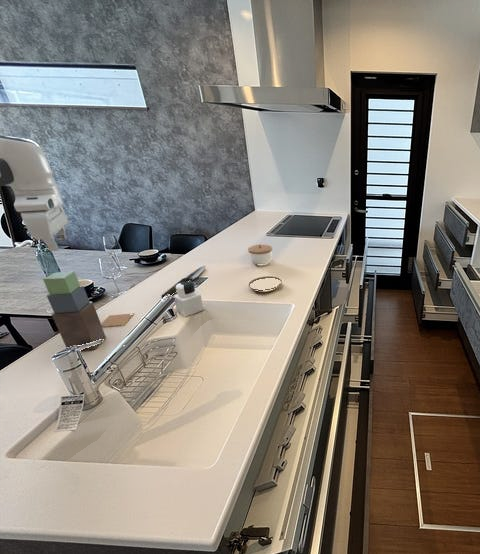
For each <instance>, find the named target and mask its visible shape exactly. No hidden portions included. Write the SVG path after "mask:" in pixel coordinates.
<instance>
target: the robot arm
mask: <svg viewBox="0 0 480 554" xmlns="http://www.w3.org/2000/svg"><path fill="white" fill-rule="evenodd" d="M4 186H6V187H11V188H12V191H13V193H14V197H15V200H14V203H13V207H14V210H15V211H16V212H17V213H20V216H21V219H22V221H23V223H24V225H25V227H26V229H27V231H28V233H29V235H30V236H31V237H32V238H33V239H34V240H42V241H43V243H44V244H45V245H46V247H47V248H48V250H49V251H50V252H57V251H59V249H60V247H59V243H65V242H66V241H68V238H67V236H66V229H65V226H66V225H67V224H68V222H69V219H68V217H67V214H66V212H65V210H64V207H63V205H64V200H63V198H62V197H63V196H62V195H61V192H60V189H59V186H58V185H57V184H56V182H55V181H54V178H53V171H52V167H51V164H50V163H49V161H48V158H47V156H46V154H45V152H44V150H43V148H42V147H41V146H40V145H39V144H38V143H36V142H35V141H33V140H32V139H27V138H24V137H18V136H10V135H9V136H8V135H0V187H4ZM55 235H56V239H57V242H58V243H57V242H56V241H55Z"/></svg>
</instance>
